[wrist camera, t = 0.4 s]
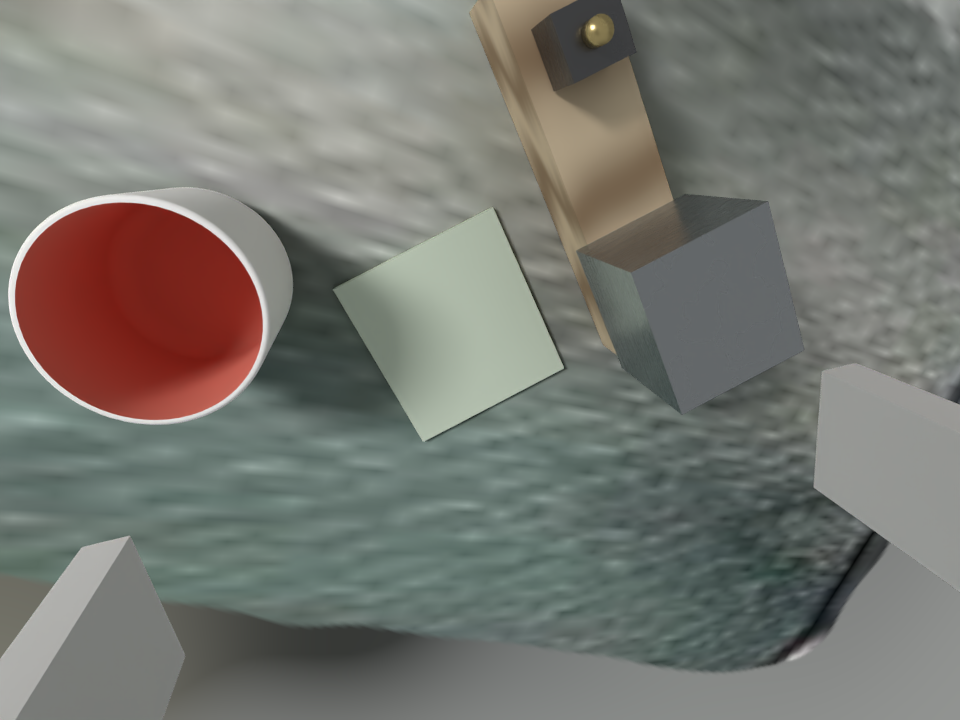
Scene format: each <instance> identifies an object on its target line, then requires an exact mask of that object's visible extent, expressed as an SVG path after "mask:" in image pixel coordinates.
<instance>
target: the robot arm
mask: <svg viewBox="0 0 960 720" xmlns="http://www.w3.org/2000/svg"><path fill="white" fill-rule="evenodd" d="M814 488H815V489H817V490H818V491H819V492H821V493H822V494H824V495H825V496H826V497H828V498H829V499H831V500H832V501H833V502H835V503H836V504H837V505H839V506H840V507H842V508H843V509H844V510H846V511H847V512H849V513H850V514H851V515H853V516H854V517H856V518H857V519H858V520H860V521H861V522H863V523H864V524H865V525H867V526H868V527H870V528H871V529H872V530H874V531H875V532H877V533H878V534H879V535H881V536H882V537H883V538H885V539H886V540H888V541H889V542H890V543H892V544H893V545H895V546H896V547H898V548H899V549H900V550H902V551H903V552H904V553H906V554H907V555H909V556H910V557H912V558H913V559H914V560H916V561H917V562H919V563H920V564H921V565H923V566H924V567H925V568H927V569H928V570H930V571H931V572H932V573H934V574H935V575H936V576H938V577H939V578H941V579H942V580H943V581H945V582H946V583H948V584H949V585H950V586H952V587H953V588H955V589H956V590H957V591H959V592H960V405H959V404H956V403H954V402H951V401H949V400H947V399H944V398H942V397H939V396H937V395H934V394H932V393H929V392H927V391H924V390H922V389H919V388H917V387H914V386H912V385H909V384H907V383H904V382H902V381H899V380H897V379H895V378H892V377H890V376H887V375H885V374H882V373H880V372H877V371H875V370H872V369H870V368H867V367H865V366H862V365H860V364H857V363H853V364H849V365H845V366H841V367H836V368H832V369H828V370H824V371H822V377H821V391H820V405H819V419H818V433H817V446H816V460H815V474H814ZM184 658H185V654H184V652H183V649H182V647H181V645H180V643H179V641H178V639H177V636H176V634H175V632H174V630H173V628H172V625H171V623H170V621H169V619H168V617H167V615H166V613H165V610H164V608H163V606H162V604H161V602H160V599H159V597H158V595H157V593H156V591H155V589H154V586H153V584H152V582H151V580H150V578H149V576H148V573H147V571H146V569H145V567H144V565H143V563H142V560H141V558H140V556H139V554H138V552H137V550H136V547H135V545H134V543H133V541H132V539H131V537H130V536H127V537H123V538H118V539H114V540H110V541H106V542H102V543H97V544H93V545H89V546H85V547H82V548H81V549H80V550H79V552H78V553H77V555H76V556H75V557H74V559H73V560H72V561H71V563H70V564H69V566H68V567H67V568H66V570H65V571H64V572H63V574H62V575H61V576H60V578H59V579H58V581H57V582H56V583H55V585H54V586H53V587H52V589H51V590H50V592H49V593H48V594H47V596H46V597H45V598H44V600H43V601H42V602H41V604H40V605H39V607H38V608H37V609H36V611H35V612H34V614H33V615H32V616H31V618H30V619H29V621H28V622H27V623H26V624H25V626H24V627H23V628H22V630H21V631H20V633H19V634H18V635H17V637H16V638H15V639H14V641H13V642H12V643H11V645H10V646H9V648H8V649H7V650H6V652H5V653H4V655H3V656H2V657H1V659H0V720H162V719H163V717H164V714H165V711H166V708H167V706H168V703H169V700H170V697H171V694H172V691H173V689H174V686H175V683H176V680H177V678H178V675H179V672H180V669H181V667H182V664H183V661H184Z"/></svg>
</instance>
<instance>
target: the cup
mask: <svg viewBox="0 0 960 720" xmlns="http://www.w3.org/2000/svg"><path fill="white" fill-rule="evenodd" d="M292 294H293V276H292V269H291V265H290V261H289V258H288V255H287V253H286V251H285V248H284V246H283V244H282V243H281V241H280V239H279V237H278V236H277V234H276V233H275V232H274V230H273V229H272V228H271V227H270V225H269V224H268V223H267V222H266V221H265V220H264V219H263V218H262V217H261V216H260V215H259V214H257V213H256V212H255V211H254V210H252V209H251V208H249V207H248V206H246V205H245V204H243V203H241V202H240V201H238V200H236V199H234V198H232V197H230V196H227V195H224V194H222V193H219V192H215V191H212V190H208V189H202V188H194V187H178V188H167V189H158V190H149V191H140V192H131V193H122V194H112V195H104V196H98V197H93V198H89V199H85V200H82V201H79V202H76V203H73V204H71V205H69V206H67V207H64V208H62V209H60V210H59V211H57V212H55V213H54V214H52V215H51V216H49V217H48V218H47V219H45V220H44V221H43V222H42V223H41V224H40V225H38V226H37V227H36V228H35V230H34V231H33V232H32V233H31V234H30V235H29V236H28V238H27V239H26V241H25V242H24V244H23V245H22V246H21V248H20V250H19V252H18V254H17V256H16V258H15V261H14V264H13V267H12V270H11V275H10V280H9V290H8V299H9V310H10V316H11V320H12V324H13V327H14V330H15V333H16V335H17V338H18V340H19V342H20V344H21V346H22V348H23V350H24V352H25V353H26V355H27V356H28V358H29V359H30V361H31V362H32V364H33V365H34V366H35V367H36V369H37V370H38V371H39V372H40V373H41V374H42V376H43V377H44V378H45V379H46V380H47V381H48V382H49V383H51V384H52V385H53V386H54V387H55V388H56V389H58V390H59V391H60V392H61V393H63V394H64V395H65V396H67V397H68V398H70V399H71V400H73V401H75V402H76V403H78V404H80V405H81V406H84V407H86V408H88V409H90V410H92V411H94V412H96V413H99V414H101V415H104V416H107V417H110V418H113V419H117V420H121V421H125V422H131V423H138V424H151V425H159V424H173V423H181V422H185V421H190V420H194V419H197V418H200V417H203V416H206V415H208V414H210V413H212V412H214V411H216V410H219V409H220V408H222V407H224V406H225V405H227V404H228V403H230V402H231V401H232V400H234V399H235V398H236V397H237V396H239V395H240V394H241V393H242V392H243V391H244V390H245V389H246V388H247V387H248V385H249V384H250V383H251V381H252V380H253V379H254V377H255V376H256V374H257V373H258V371H259V369H260V367H261V366H262V364H263V362H264V360H265V358H266V356H267V354H268V352H269V350H270V348H271V346H272V344H273V342H274V340H275V338H276V336H277V334H278V333H279V331H280V329H281V327H282V325H283V323H284V321H285V319H286V317H287V314H288V312H289V309H290V305H291V301H292Z"/></svg>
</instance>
